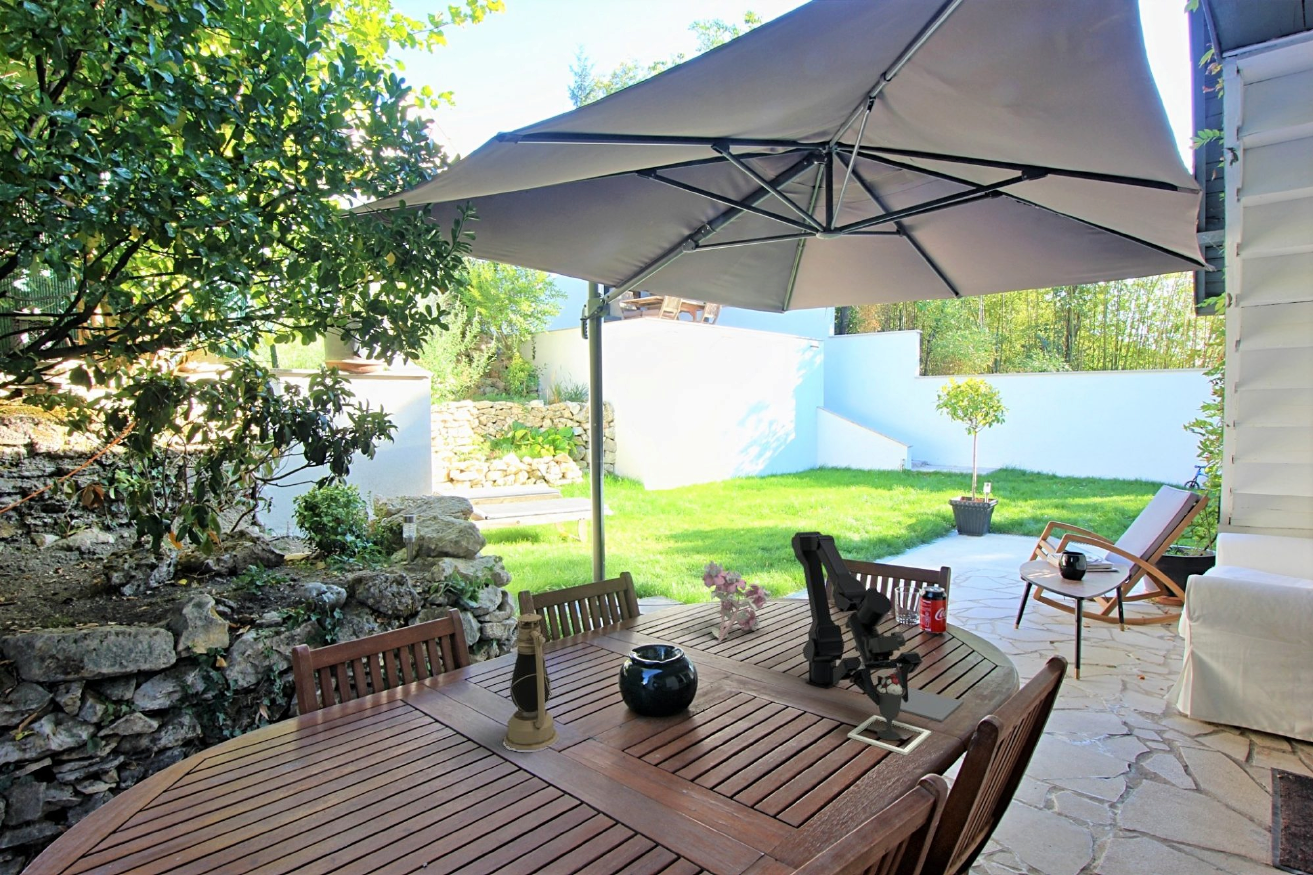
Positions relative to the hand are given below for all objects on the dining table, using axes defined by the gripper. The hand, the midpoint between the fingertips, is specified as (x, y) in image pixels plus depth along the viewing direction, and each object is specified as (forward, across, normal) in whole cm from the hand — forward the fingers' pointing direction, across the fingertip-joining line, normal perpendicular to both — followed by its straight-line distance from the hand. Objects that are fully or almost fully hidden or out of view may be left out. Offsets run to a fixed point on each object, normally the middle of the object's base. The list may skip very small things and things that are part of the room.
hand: (893, 703), depth 156 cm
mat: (-5, +17, +16) cm, 23 cm away
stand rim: (+4, 0, +6) cm, 8 cm away
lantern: (-7, -75, +18) cm, 78 cm away
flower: (-50, -7, +61) cm, 79 cm away
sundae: (+4, 0, +6) cm, 8 cm away
